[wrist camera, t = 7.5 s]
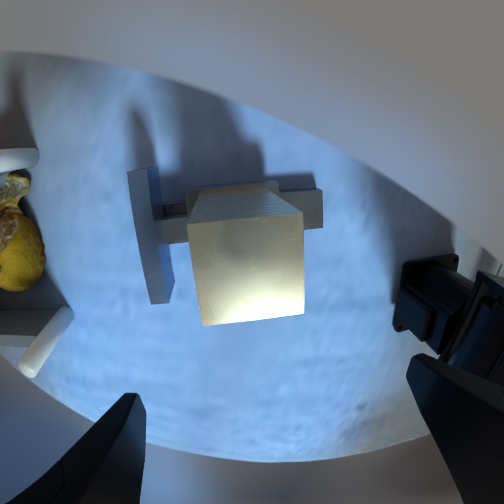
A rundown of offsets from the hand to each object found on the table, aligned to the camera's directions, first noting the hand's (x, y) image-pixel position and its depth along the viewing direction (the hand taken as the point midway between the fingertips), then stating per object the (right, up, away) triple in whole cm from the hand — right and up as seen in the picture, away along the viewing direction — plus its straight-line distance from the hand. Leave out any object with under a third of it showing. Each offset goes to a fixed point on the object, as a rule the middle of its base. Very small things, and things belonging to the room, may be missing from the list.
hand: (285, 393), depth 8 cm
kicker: (-3, +6, +9) cm, 11 cm away
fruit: (-19, +6, +9) cm, 22 cm away
